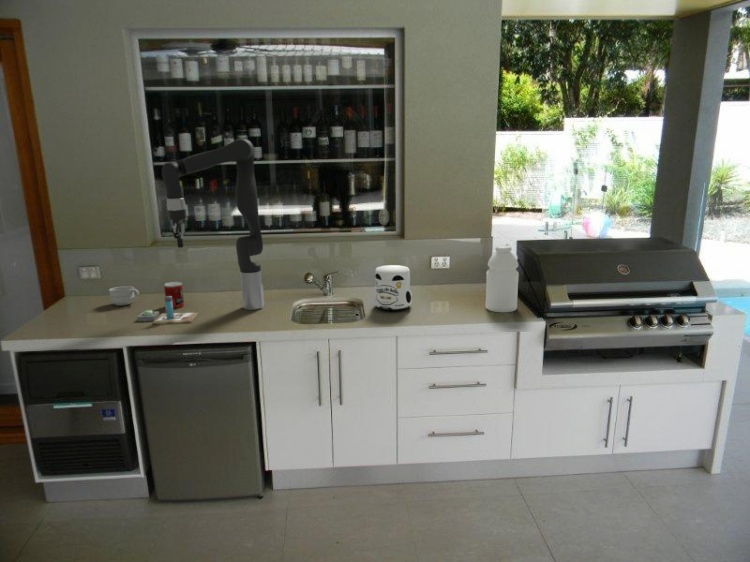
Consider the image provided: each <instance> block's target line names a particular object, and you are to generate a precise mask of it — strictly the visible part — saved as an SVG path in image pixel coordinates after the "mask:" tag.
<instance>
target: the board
mask: <svg viewBox="0 0 750 562" xmlns="http://www.w3.org/2000/svg"><path fill="white" fill-rule="evenodd" d="M173 313H174V318H172V319H167V317H166V312H165V313H164V312H163V313H161V314H159V315H160V316H159V317H158V318H157V319H156V320H155V321H152V324H153V325H167V324H170V325H171V324H192V323H193V321H195V319H197V317H198V315H199V312H173Z"/></svg>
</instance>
